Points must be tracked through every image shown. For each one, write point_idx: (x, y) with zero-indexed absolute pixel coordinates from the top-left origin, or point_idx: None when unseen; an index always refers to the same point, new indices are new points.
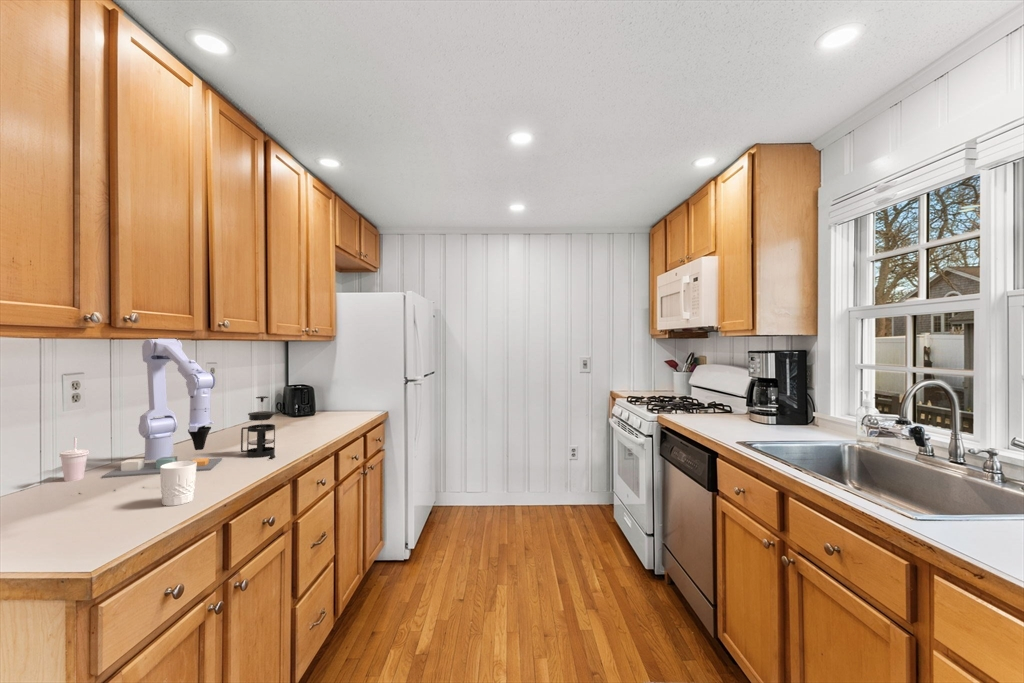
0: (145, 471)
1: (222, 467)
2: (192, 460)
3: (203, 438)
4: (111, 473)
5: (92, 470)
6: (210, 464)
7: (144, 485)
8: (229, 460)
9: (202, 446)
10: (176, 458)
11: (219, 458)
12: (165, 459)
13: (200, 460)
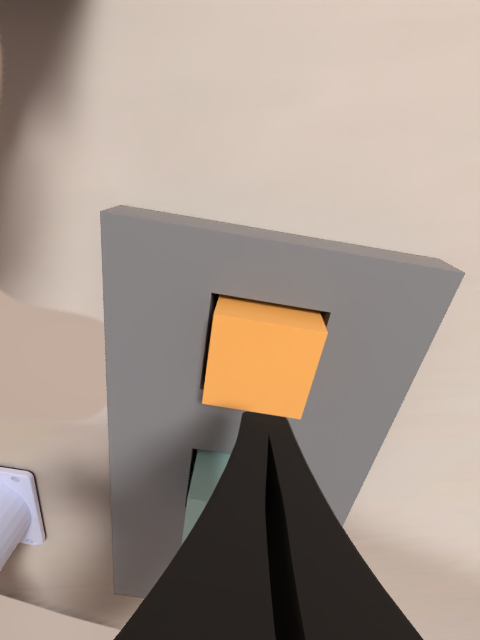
0: None
1: (252, 191)
2: (247, 406)
3: (354, 554)
4: None
5: (93, 614)
6: (317, 283)
7: (442, 501)
8: (17, 152)
9: (295, 445)
10: (204, 489)
11: (116, 231)
12: None
13: (277, 362)
